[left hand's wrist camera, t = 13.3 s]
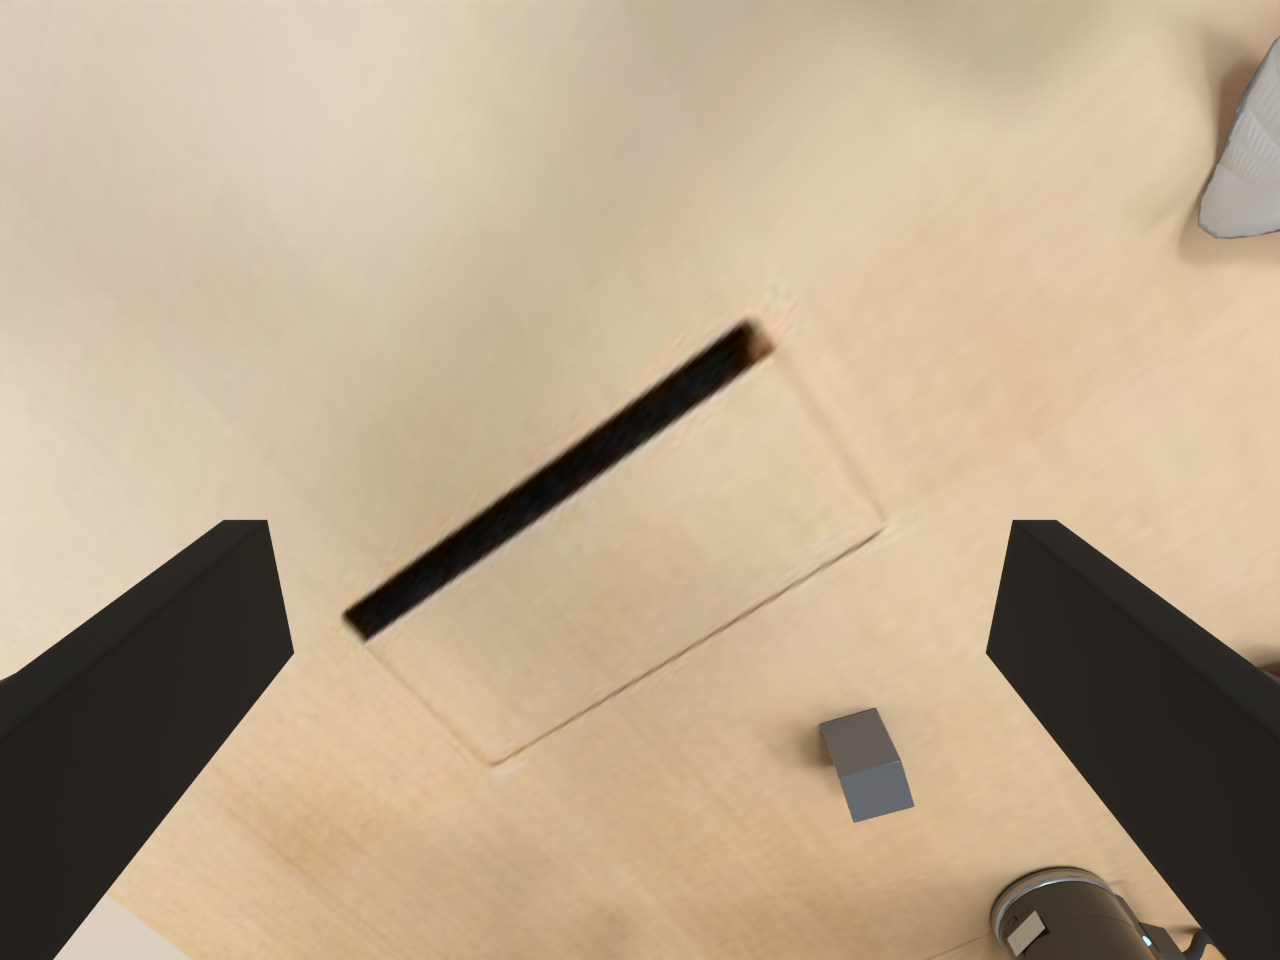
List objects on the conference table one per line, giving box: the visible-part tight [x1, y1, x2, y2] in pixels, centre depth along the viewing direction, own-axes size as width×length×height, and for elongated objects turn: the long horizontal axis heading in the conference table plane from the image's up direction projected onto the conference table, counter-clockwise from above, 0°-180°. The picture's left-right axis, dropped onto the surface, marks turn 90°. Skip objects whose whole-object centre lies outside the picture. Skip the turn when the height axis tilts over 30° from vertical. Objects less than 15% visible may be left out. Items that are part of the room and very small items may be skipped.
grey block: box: [820, 708, 914, 823], centre depth 47 cm, size 4×4×5 cm
